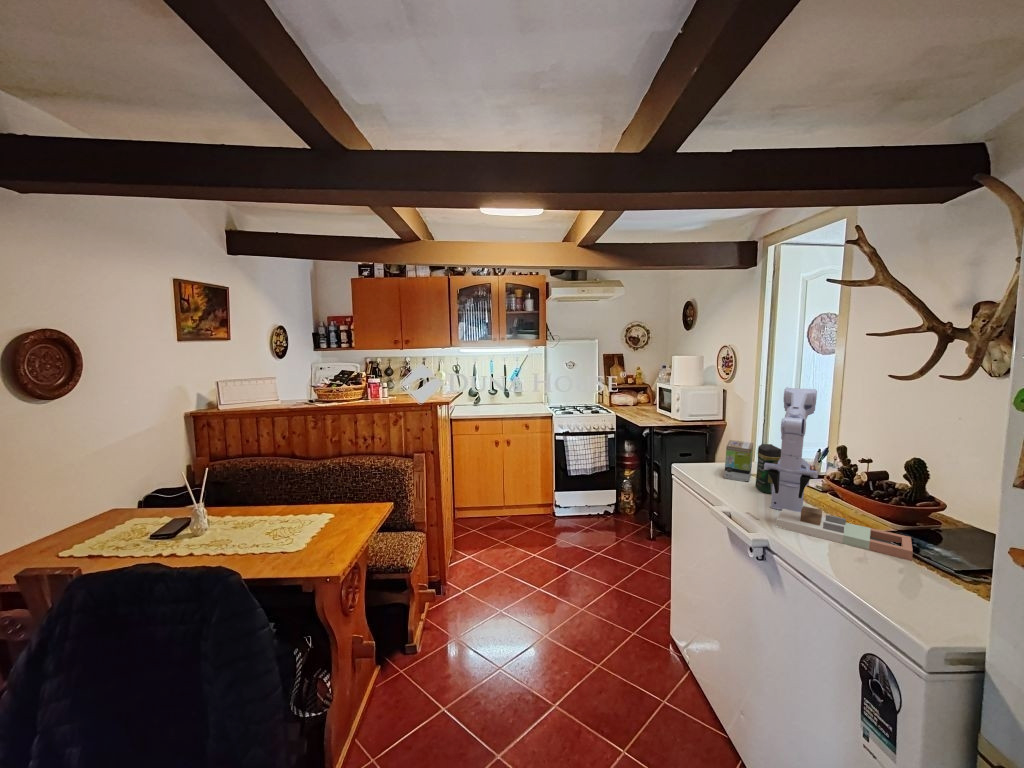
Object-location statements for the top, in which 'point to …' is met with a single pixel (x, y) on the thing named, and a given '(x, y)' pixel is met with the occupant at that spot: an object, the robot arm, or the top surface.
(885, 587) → the top surface
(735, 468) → the tea box
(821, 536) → the board
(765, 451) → the coffee jar
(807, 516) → the walnut block
